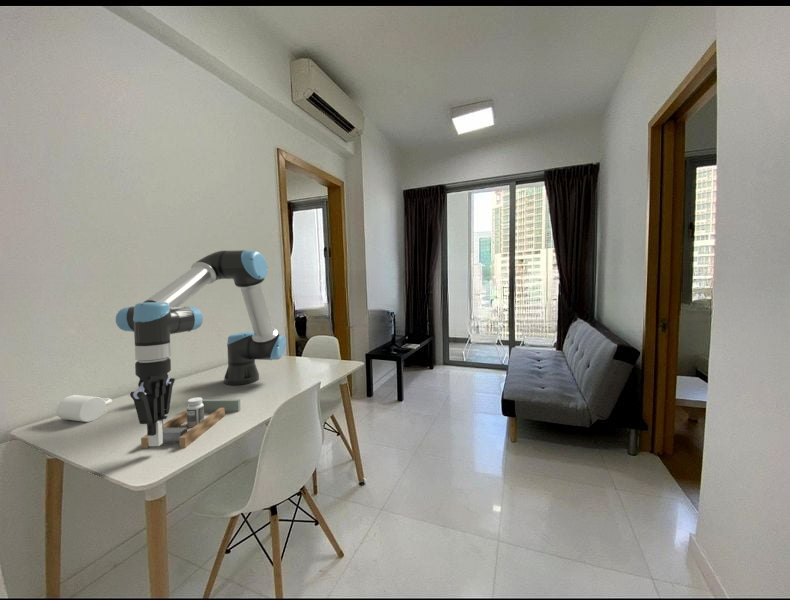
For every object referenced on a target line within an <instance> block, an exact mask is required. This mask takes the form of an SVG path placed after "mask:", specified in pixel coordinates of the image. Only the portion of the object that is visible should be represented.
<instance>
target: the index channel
mask: <svg viewBox="0 0 790 600" xmlns="http://www.w3.org/2000/svg"><path fill="white" fill-rule="evenodd" d="M224 417H226V412H225V408H219V409H218V410H216V411H215V412H211V414H209V415H208V416H207V417H204V420H203V421H201V422H200V423H199V424H197V425H196V426H194V427H191V429H189V430H187V432H186V433H185V434H183V435H182V436H181V437H179V444H178V445H179V449H186V448H187V447H188V446H191V444H193V442H195V441H196V440H197V439H198V438H200V437H201V436H202V435H203V434H204V433H206V432H207V431H208V430H210V428H212V427H214V425H216V424H217V423H218V422H219V421H221V420H222V419H223V418H224ZM185 423H187V409H186V410H184V411H182V412H181V413H180V414H177V415H175V417H172V418H171V419H169V420H167V421H166V422H163V428H180V427H181V426H183V425H184V424H185ZM140 442H141V443H140V445H141V449H148V448H150V447H151V446H149V442H148V434H147V433H146V434H145V435H144V436H142V437H141V438H140Z"/></svg>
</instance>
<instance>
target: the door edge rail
mask: <svg viewBox="0 0 790 600" xmlns="http://www.w3.org/2000/svg"><path fill="white" fill-rule="evenodd" d="M202 403H203V404H204V413H209V412H210V413H214V412H215V411H216V410H218V409H219V408H225V413H226V412H227V413H229V412H234V413H236V412H238V413H239V412H240V411H241V399H240V398H238V399H237V398H233V399H232V398H231V399H229V398H227V399H226V398H225V399H224V398H223V399H220V398H219V399H202Z"/></svg>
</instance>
